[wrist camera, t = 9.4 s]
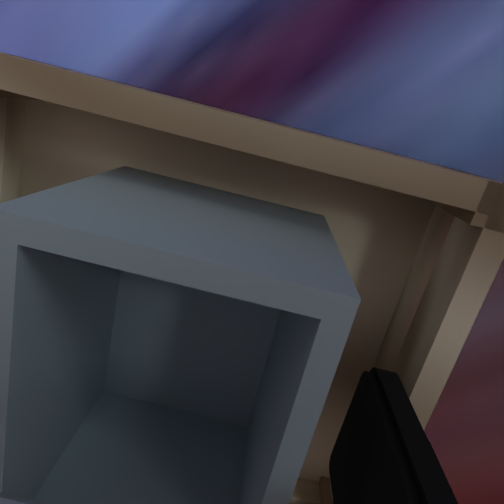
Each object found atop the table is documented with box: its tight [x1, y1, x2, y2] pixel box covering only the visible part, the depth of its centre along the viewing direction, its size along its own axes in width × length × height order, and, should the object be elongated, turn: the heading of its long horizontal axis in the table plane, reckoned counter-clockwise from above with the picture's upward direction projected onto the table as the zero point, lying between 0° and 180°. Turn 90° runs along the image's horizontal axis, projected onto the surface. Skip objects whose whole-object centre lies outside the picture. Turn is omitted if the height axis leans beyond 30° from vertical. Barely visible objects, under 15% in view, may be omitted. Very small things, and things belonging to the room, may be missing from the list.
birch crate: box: [0, 52, 504, 504], centre depth 12 cm, size 12×13×4 cm
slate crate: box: [0, 166, 361, 504], centre depth 11 cm, size 8×6×6 cm
